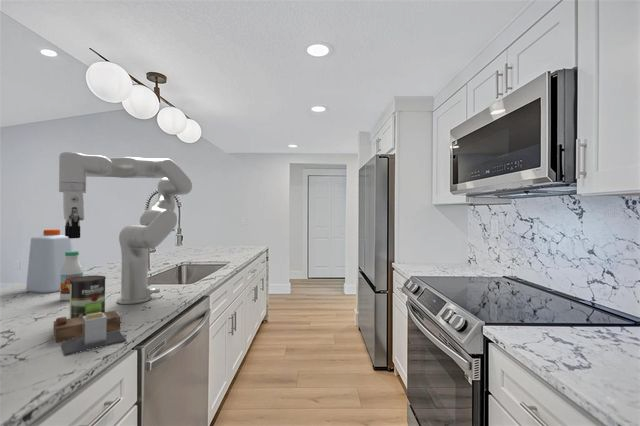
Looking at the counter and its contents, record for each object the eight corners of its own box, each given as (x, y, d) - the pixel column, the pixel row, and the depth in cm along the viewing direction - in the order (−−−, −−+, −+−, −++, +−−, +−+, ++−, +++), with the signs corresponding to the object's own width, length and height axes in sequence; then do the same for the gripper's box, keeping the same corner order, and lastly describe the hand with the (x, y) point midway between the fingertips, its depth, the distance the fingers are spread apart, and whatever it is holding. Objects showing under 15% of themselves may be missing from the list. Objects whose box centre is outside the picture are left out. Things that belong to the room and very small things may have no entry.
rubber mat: (118, 332, 101) (118, 330, 101) (126, 341, 94) (126, 339, 94) (61, 344, 91) (61, 342, 91) (65, 355, 85) (65, 353, 85)
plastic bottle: (47, 294, 143) (47, 231, 143) (21, 291, 146) (21, 230, 146) (79, 286, 158) (80, 229, 157) (55, 284, 161) (55, 228, 161)
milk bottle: (55, 299, 135) (56, 251, 135) (75, 295, 142) (75, 249, 142) (67, 301, 132) (67, 253, 132) (87, 297, 139) (87, 250, 139)
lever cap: (103, 336, 96) (103, 310, 96) (106, 341, 93) (106, 314, 93) (82, 340, 93) (82, 313, 93) (84, 346, 89) (85, 317, 89)
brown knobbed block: (114, 322, 109) (114, 305, 109) (120, 329, 104) (120, 311, 104) (53, 334, 98) (53, 316, 98) (55, 342, 93) (56, 323, 93)
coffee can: (110, 317, 115) (111, 277, 115) (77, 325, 106) (77, 282, 106) (96, 311, 120) (97, 274, 120) (63, 319, 112) (64, 278, 112)
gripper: (90, 187, 109) (89, 238, 109) (82, 189, 122) (81, 235, 122) (61, 186, 104) (61, 239, 104) (56, 188, 117) (56, 236, 117)
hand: (72, 237), depth 113 cm, fingers open, 9 cm apart
